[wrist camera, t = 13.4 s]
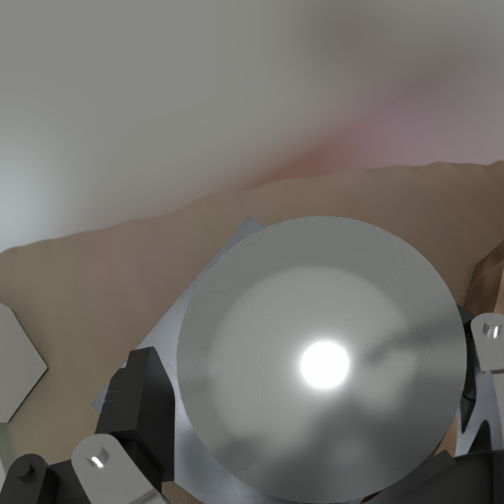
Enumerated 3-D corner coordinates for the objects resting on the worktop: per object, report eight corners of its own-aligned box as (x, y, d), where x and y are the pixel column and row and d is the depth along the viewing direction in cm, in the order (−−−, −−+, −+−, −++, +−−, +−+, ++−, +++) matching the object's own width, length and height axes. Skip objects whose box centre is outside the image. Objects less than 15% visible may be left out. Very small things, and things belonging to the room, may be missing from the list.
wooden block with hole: (476, 265, 21) (509, 235, 17) (543, 319, 18) (578, 300, 14) (361, 497, 14) (389, 520, 10) (455, 533, 11) (491, 549, 7)
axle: (267, 353, 19) (292, 175, 5) (319, 387, 18) (494, 304, 4) (229, 403, 18) (116, 378, 4) (282, 439, 16) (369, 544, 2)
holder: (251, 252, 22) (249, 216, 18) (417, 358, 18) (451, 344, 14) (123, 406, 17) (90, 404, 13) (298, 530, 13) (307, 559, 9)
